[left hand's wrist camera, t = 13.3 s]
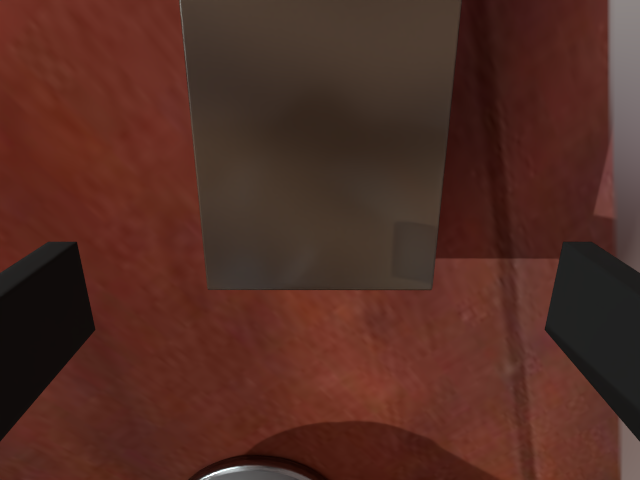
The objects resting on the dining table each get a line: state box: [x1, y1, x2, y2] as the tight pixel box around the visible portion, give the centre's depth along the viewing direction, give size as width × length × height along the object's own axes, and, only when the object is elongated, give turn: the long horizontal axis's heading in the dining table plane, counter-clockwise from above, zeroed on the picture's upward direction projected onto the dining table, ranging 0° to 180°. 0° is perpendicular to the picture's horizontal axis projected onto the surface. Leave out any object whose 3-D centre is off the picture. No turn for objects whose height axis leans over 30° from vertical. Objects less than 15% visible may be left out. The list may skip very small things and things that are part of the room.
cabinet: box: [179, 0, 462, 290], centre depth 23 cm, size 17×11×10 cm, turn 0°
